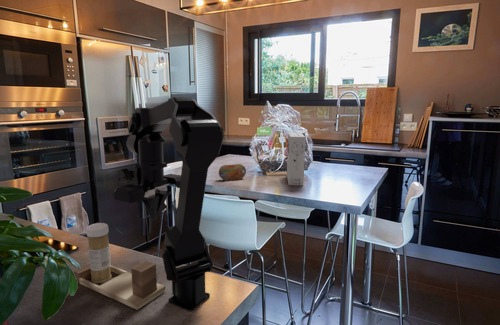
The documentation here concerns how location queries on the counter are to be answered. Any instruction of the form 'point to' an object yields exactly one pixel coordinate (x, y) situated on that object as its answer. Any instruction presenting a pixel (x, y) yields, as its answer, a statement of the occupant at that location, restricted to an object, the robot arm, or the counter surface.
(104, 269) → the sprinkles bottle
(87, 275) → the wooden stand
